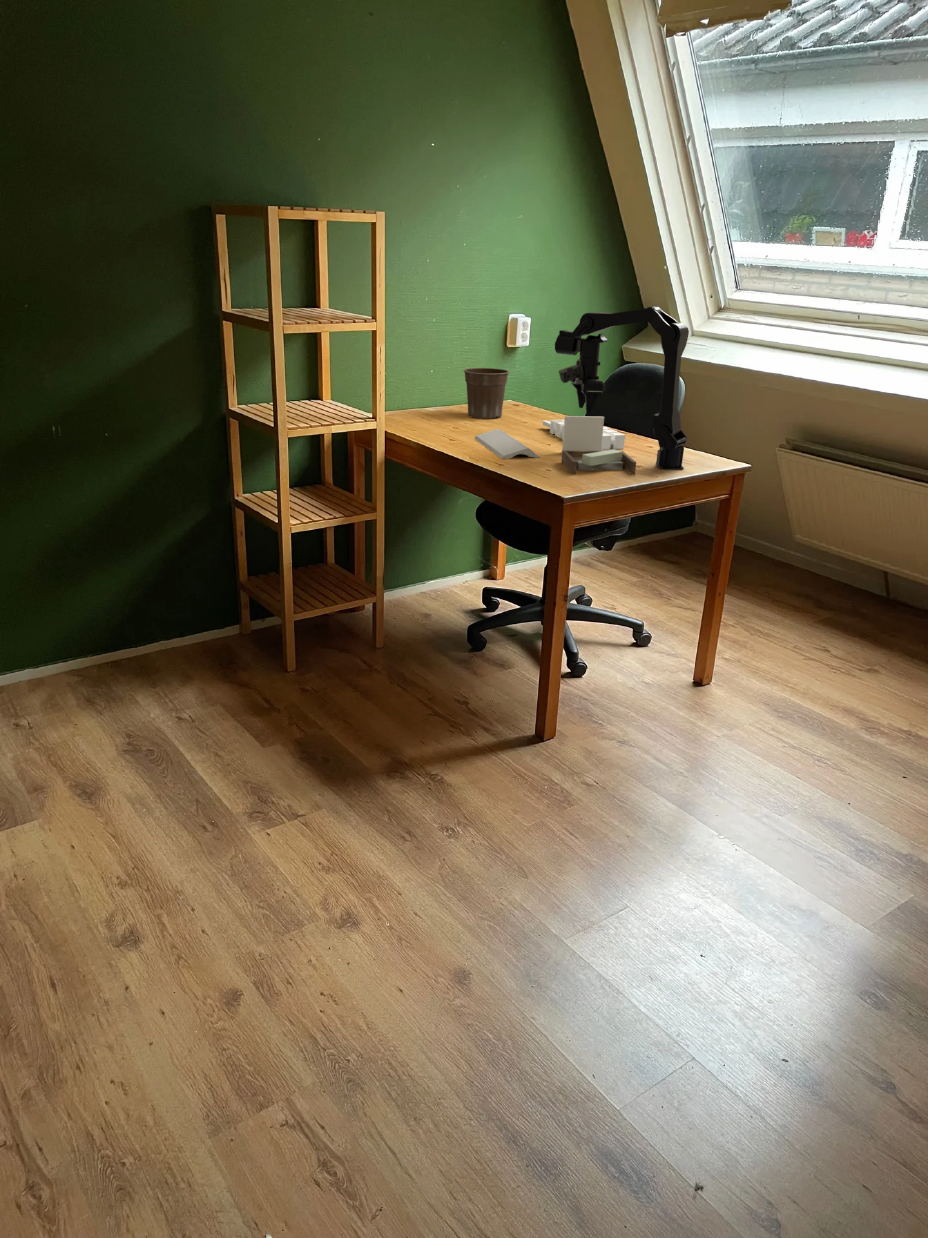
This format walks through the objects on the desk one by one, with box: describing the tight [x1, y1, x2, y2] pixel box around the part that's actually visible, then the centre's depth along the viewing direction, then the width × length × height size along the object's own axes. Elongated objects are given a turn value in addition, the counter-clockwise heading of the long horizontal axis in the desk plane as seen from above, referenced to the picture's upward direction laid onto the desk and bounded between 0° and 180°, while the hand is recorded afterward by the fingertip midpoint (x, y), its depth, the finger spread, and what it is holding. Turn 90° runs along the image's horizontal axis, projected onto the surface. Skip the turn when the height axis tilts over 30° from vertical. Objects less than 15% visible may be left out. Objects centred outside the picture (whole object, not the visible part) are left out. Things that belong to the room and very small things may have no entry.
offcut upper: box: [582, 448, 624, 466], centre depth 257 cm, size 13×4×2 cm, turn 130°
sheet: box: [561, 415, 605, 451], centre depth 274 cm, size 12×1×11 cm, turn 96°
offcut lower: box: [576, 460, 624, 472], centre depth 258 cm, size 13×4×2 cm, turn 100°
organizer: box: [542, 419, 626, 451], centre depth 295 cm, size 13×5×35 cm
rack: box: [561, 449, 637, 475], centre depth 258 cm, size 18×14×4 cm
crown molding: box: [474, 428, 541, 460], centre depth 279 cm, size 29×12×4 cm, turn 16°
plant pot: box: [463, 367, 510, 419], centre depth 324 cm, size 16×16×16 cm
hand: (584, 410), depth 272 cm, fingers open, 9 cm apart
